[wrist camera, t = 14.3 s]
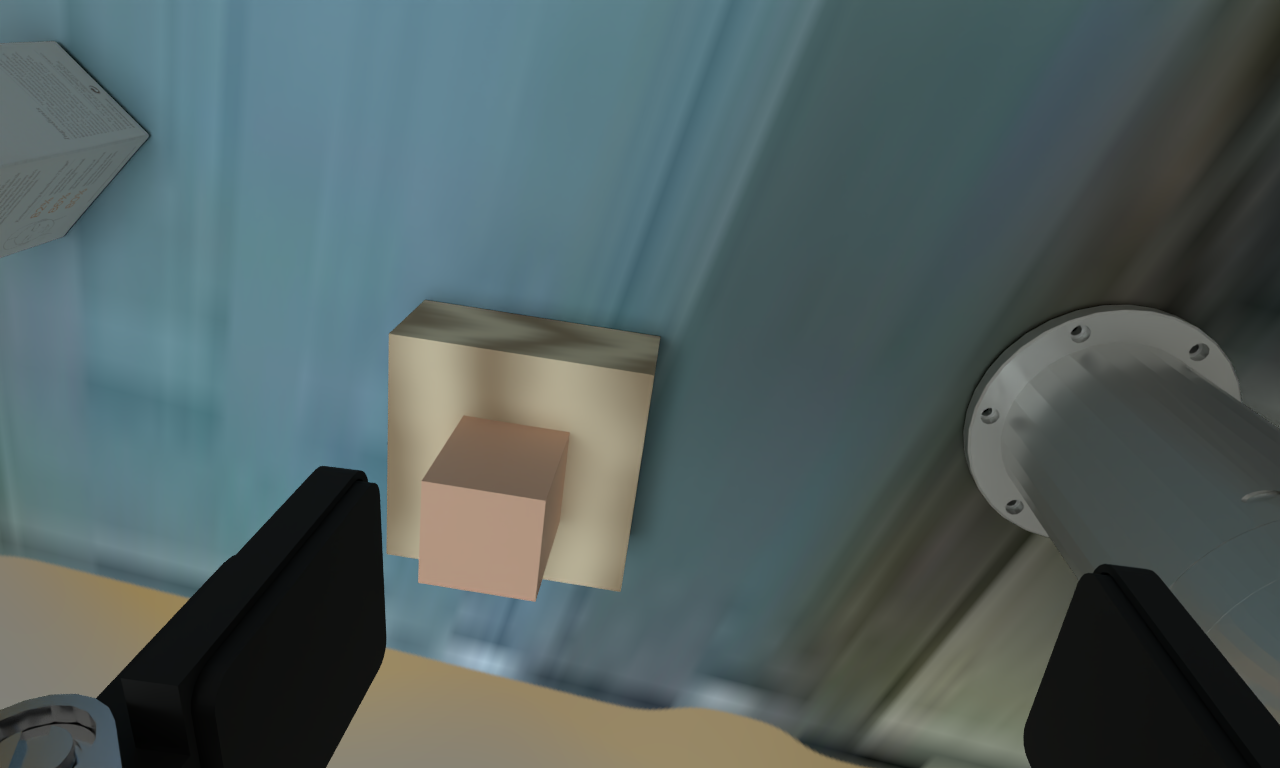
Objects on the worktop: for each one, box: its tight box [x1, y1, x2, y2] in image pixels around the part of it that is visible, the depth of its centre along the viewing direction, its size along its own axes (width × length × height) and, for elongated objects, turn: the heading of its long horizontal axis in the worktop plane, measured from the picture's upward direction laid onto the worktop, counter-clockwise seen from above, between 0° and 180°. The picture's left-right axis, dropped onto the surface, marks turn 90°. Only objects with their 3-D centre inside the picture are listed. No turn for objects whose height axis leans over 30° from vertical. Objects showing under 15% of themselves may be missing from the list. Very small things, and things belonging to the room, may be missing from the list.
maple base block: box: [387, 300, 660, 592], centre depth 41 cm, size 12×12×5 cm
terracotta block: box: [418, 415, 570, 602], centre depth 36 cm, size 5×5×6 cm
